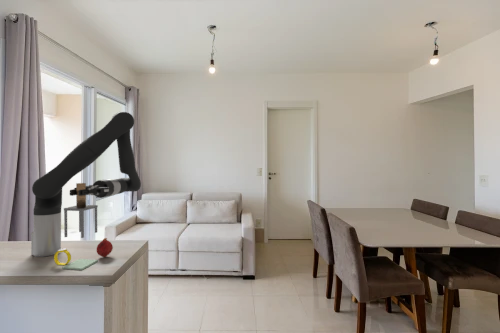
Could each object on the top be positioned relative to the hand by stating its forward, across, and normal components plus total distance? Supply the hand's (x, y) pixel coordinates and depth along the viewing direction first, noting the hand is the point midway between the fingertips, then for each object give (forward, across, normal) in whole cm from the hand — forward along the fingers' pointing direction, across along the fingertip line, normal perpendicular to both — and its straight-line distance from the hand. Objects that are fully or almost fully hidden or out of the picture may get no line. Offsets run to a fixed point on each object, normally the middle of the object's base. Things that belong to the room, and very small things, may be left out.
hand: (75, 192), depth 92 cm
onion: (-11, +3, +28) cm, 31 cm away
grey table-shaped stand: (-3, 0, +16) cm, 17 cm away
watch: (-2, -7, +28) cm, 29 cm away
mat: (-3, 0, +28) cm, 28 cm away
